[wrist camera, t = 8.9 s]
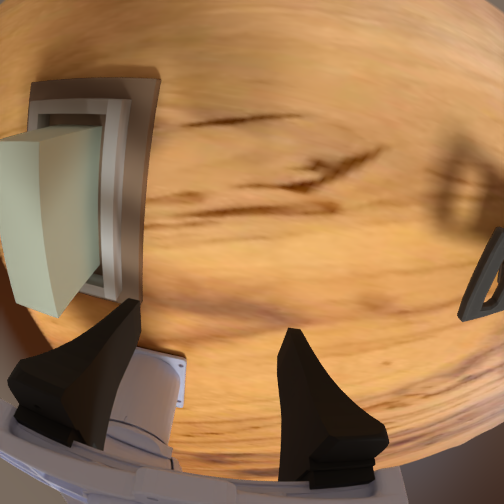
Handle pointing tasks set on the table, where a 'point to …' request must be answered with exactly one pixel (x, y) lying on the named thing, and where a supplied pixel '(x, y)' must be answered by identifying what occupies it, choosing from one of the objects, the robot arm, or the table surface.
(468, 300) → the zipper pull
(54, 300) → the pale green block
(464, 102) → the table surface
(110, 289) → the plate
